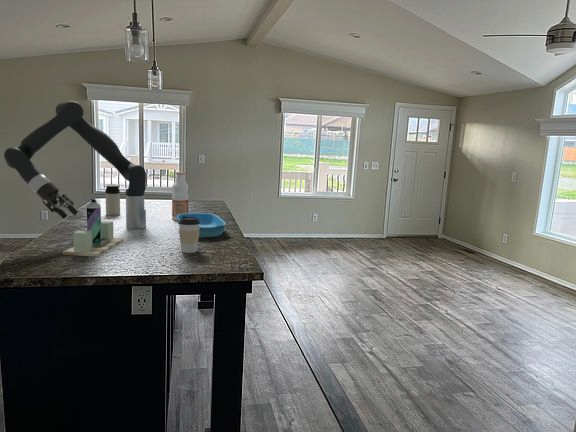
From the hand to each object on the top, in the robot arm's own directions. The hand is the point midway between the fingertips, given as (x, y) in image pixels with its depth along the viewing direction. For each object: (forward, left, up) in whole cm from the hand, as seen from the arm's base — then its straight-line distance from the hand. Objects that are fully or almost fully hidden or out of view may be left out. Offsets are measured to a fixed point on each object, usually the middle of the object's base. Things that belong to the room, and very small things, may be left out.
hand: (71, 215), depth 182 cm
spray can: (-8, +6, -13) cm, 16 cm away
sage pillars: (-8, +6, -12) cm, 16 cm away
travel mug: (-36, -66, -14) cm, 76 cm away
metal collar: (-8, +6, -12) cm, 16 cm away
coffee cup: (-41, +29, -14) cm, 52 cm away
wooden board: (-8, +6, -14) cm, 17 cm away
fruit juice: (-66, -37, -14) cm, 77 cm away
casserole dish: (-62, -3, -14) cm, 64 cm away
